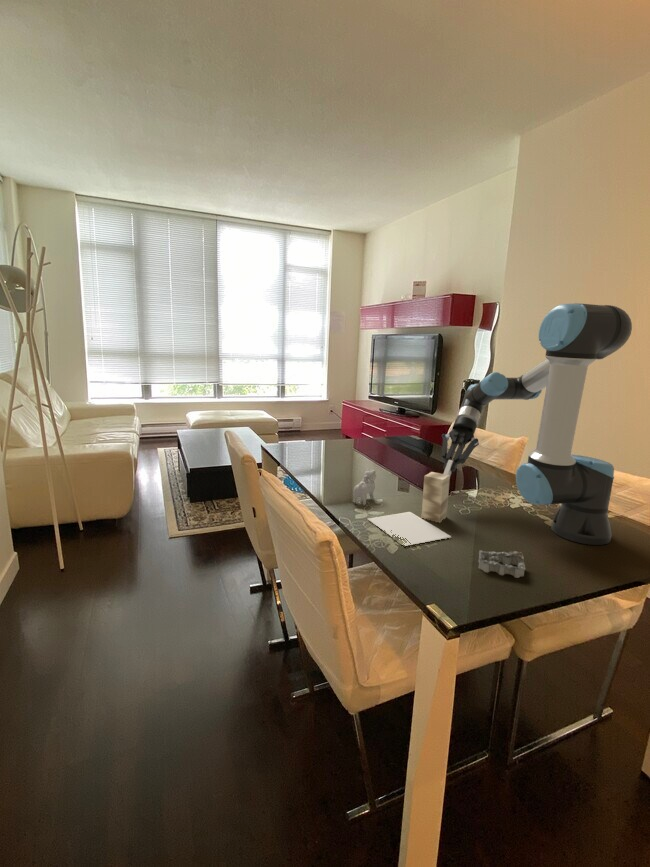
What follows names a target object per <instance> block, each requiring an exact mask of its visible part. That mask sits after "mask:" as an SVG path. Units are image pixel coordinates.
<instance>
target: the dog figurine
mask: <svg viewBox="0 0 650 867" xmlns="http://www.w3.org/2000/svg"><path fill="white" fill-rule="evenodd" d="M376 472H377V471H376V470H375V469H372V470H370V468H366V469H365V472H364V473H363V478H362V480H361V481H360V482H358V484H356V485H355V486H354V488H353V495H352V499H353V501H352V503H353V502H356V503H357V498H359V499H360V500H362V504H364V505H365V504H366V505H367V495H369V498H370V500H371V499H374V500H375V498H374V497H375V496H374V492H375V489H376V484H375V480H376V478H377V473H376ZM364 505H363V506H364Z"/></svg>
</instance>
